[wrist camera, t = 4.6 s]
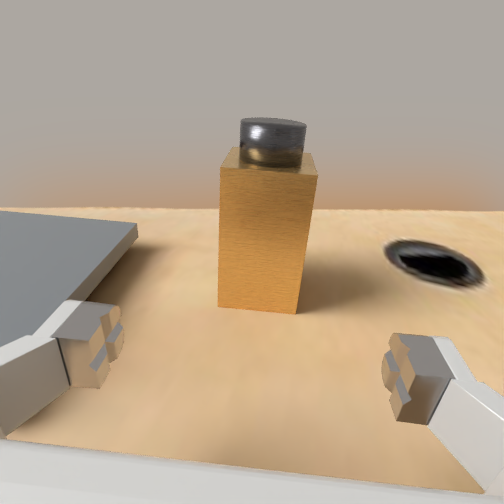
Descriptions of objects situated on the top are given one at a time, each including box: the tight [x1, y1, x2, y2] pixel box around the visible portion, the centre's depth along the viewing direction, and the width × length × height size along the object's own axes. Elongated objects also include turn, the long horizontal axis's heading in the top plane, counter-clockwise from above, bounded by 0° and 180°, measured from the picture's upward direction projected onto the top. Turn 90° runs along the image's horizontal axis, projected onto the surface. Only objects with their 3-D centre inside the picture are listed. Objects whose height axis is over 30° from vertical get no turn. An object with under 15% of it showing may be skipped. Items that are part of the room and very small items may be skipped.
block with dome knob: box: [218, 118, 318, 314], centre depth 21 cm, size 5×5×11 cm
